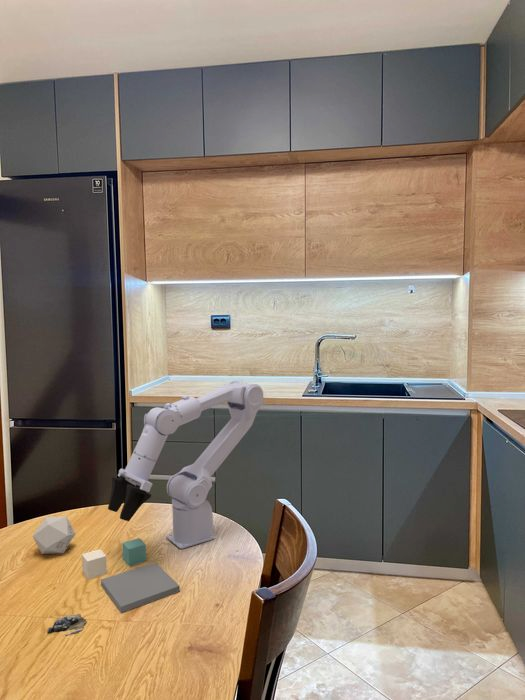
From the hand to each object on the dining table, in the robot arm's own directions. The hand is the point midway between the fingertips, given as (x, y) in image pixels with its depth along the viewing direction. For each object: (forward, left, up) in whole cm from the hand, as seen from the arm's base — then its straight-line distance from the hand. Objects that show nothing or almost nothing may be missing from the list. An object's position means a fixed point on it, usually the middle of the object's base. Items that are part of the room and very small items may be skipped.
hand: (117, 515), depth 110 cm
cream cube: (+6, 0, -11) cm, 13 cm away
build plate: (0, +12, -11) cm, 17 cm away
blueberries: (+16, +16, -12) cm, 26 cm away
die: (+10, -16, -11) cm, 22 cm away
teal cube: (-3, 0, -11) cm, 12 cm away
